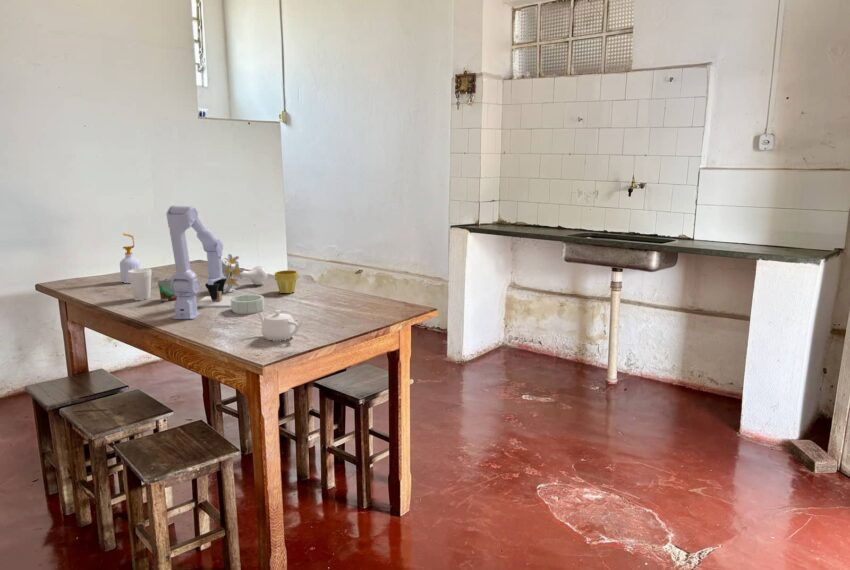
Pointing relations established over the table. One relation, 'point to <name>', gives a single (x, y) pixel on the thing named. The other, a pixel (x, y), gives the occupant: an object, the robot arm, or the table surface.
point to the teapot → (278, 326)
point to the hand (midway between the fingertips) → (217, 297)
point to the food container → (166, 291)
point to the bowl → (247, 304)
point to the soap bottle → (128, 263)
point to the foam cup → (140, 283)
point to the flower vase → (241, 273)
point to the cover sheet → (215, 301)
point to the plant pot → (286, 280)
